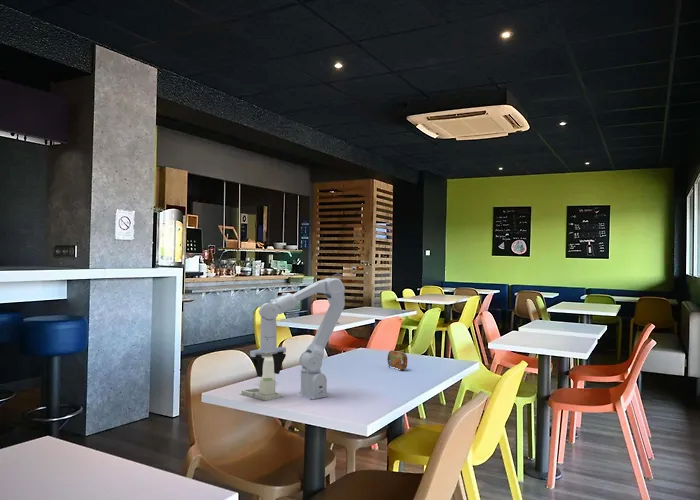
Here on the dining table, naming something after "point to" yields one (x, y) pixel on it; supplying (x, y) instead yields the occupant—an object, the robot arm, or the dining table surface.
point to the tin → (397, 359)
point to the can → (268, 367)
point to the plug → (267, 387)
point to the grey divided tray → (255, 394)
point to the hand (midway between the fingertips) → (268, 375)
